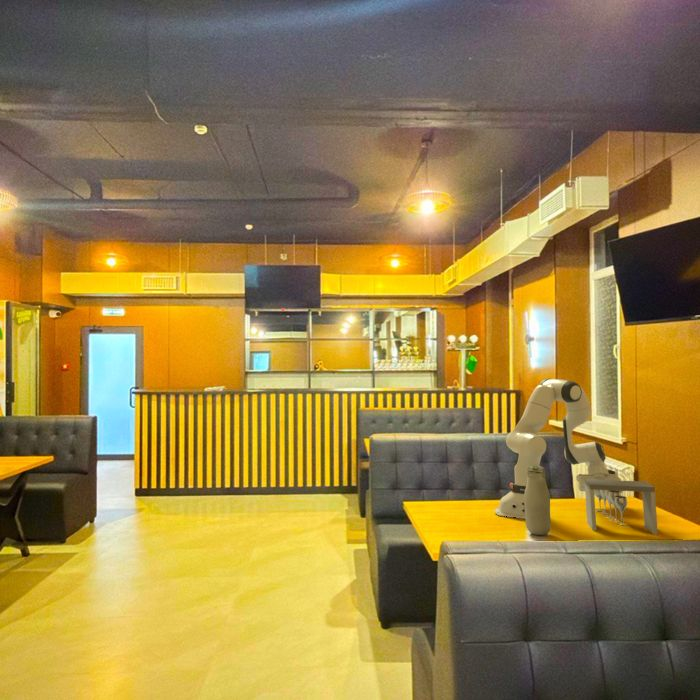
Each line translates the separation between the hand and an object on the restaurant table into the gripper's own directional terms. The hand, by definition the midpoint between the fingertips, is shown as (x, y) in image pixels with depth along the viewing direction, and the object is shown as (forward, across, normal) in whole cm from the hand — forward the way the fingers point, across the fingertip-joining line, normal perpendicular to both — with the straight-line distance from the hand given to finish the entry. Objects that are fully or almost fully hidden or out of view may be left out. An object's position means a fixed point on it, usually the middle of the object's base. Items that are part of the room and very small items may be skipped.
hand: (603, 498), depth 228 cm
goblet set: (+14, 0, -6) cm, 15 cm away
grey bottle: (+38, -34, -30) cm, 59 cm away
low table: (+26, 0, -18) cm, 32 cm away
